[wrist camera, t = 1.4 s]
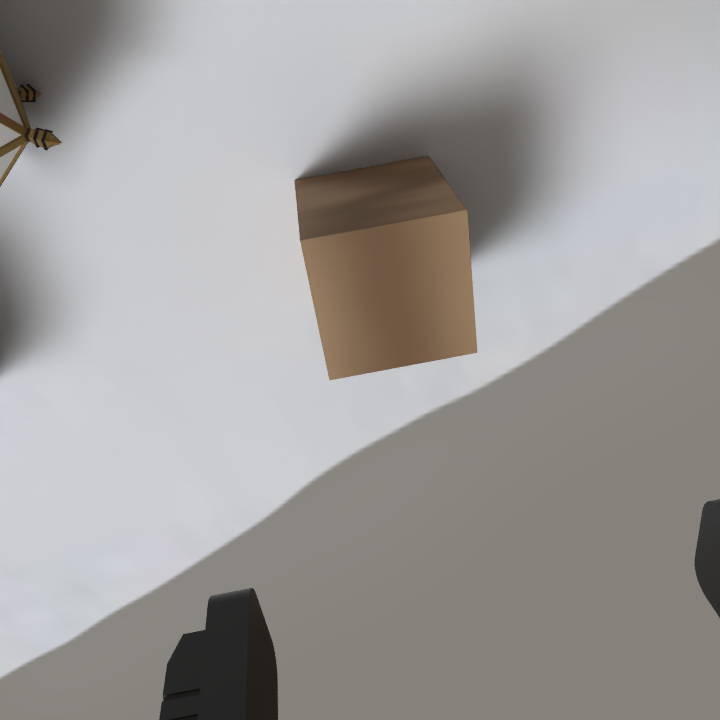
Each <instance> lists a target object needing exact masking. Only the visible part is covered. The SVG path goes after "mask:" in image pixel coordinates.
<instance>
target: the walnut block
mask: <svg viewBox="0 0 720 720" xmlns="http://www.w3.org/2000/svg"><path fill="white" fill-rule="evenodd" d="M295 190H296V201H297V211H298V222H299V233H300V242H301V247H302V251H303V256H304V261H305V266H306V270H307V275H308V280H309V285H310V289H311V294H312V299H313V304H314V308H315V313H316V318H317V323H318V327H319V332H320V337H321V342H322V346H323V351H324V356H325V361H326V365H327V370H328V375H329V380H333V379H339V378H344V377H349V376H355V375H360V374H365V373H371V372H376V371H381V370H387V369H392V368H397V367H403V366H408V365H413V364H419V363H424V362H430V361H435V360H440V359H446V358H451V357H456V356H462V355H467V354H472V353H477V342H476V328H475V313H474V299H473V285H472V270H471V256H470V241H469V227H468V212H467V209H466V207H465V206H464V205H463V203H462V202H461V200H460V199H459V198H458V196H457V195H456V194H455V192H454V191H453V189H452V188H451V187H450V185H449V184H448V182H447V181H446V180H445V178H444V177H443V176H442V174H441V173H440V171H439V170H438V169H437V167H436V166H435V164H434V163H433V162H432V160H431V159H430V158H429V156H425V157H419V158H414V159H408V160H403V161H397V162H392V163H387V164H381V165H376V166H370V167H365V168H359V169H354V170H348V171H343V172H337V173H332V174H326V175H321V176H316V177H310V178H305V179H299V180H295Z"/></svg>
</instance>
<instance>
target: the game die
mask: <svg viewBox="0 0 720 720" xmlns="http://www.w3.org/2000/svg"><path fill="white" fill-rule="evenodd" d="M39 95H40V93H39V92H37V91H36V90H34V89H33V88H32V87H31V86H30V85H29V84H27V86H23V85H20V87H19V88H16V85H15V83H14V80H13V78H12V75H11V73H10V71H9V68H8V66H7V63H6V61H5V59H4V56H3V54H2V51H1V49H0V187H1V185H2V183H3V182H4V180H5V178H6V177H7V175H8V174H9V172H10V170H11V169H12V167H13V166H14V164H15V162H16V161H17V159H18V157H19V156H20V154H21V153H22V151H23V149H24V148H25V146H26V144H27V143H28V142H32V143H34V144H35V145H36V147H38V148H39V147H44V149H45V150H47V149H48V148H49V147H52V146H55V145H58V144H60V143H62V142H61V141H60V140H59V139H58V138H57V137H56V136H55V135H53V134H52V132H53V131H50V130H46V129H45V130H44V129H40V128H36V129H31V128H30V125H29V122H28V119H27V116H26V113H25V110H24V107H23V104H22V102H36V98H37V97H38V96H39Z"/></svg>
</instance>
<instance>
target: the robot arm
mask: <svg viewBox="0 0 720 720" xmlns="http://www.w3.org/2000/svg"><path fill="white" fill-rule="evenodd" d="M695 570H696V575H697V579H698V582H699V584H700V587H701V589H702V591H703V593H704V594H705V596H706V598H707V599H708V601H709V602H710V604H711V605H712V607H713V608H714V610H715V611H716V613H717V614H718V616H719V617H720V499H718V500H714V501H708V502H706V503H705V505H704V507H703V511H702V517H701V523H700V530H699V536H698V542H697V548H696V555H695ZM277 681H278V680H277V665H276V658H275V651H274V646H273V642H272V639H271V636H270V633H269V630H268V627H267V624H266V622H265V618H264V616H263V613H262V610H261V607H260V604H259V601H258V598H257V595H256V593H255V590H254V589H253V588H249V589H244V590H240V591H234V592H229V593H223V594H218V595H213V596H211V597H210V599H209V601H208V608H207V618H206V629H205V630H203V631H198V632H193V633H188V634H183V636H182V638H181V639H180V641H179V643H178V645H177V647H176V649H175V651H174V653H173V654H172V656H171V658H170V660H169V662H168V664H167V670H166V677H165V683H164V690H163V699H164V700H163V702H162V705H161V713H160V719H159V720H278V683H277Z"/></svg>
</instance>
